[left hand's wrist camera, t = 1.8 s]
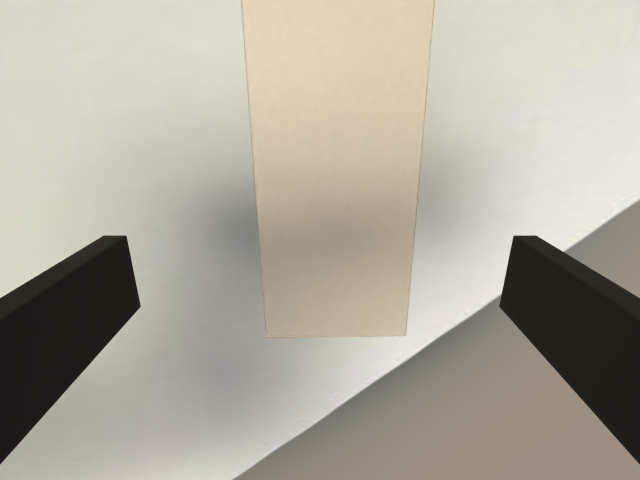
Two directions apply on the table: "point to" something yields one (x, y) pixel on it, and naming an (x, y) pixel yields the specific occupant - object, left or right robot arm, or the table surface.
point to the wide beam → (336, 159)
